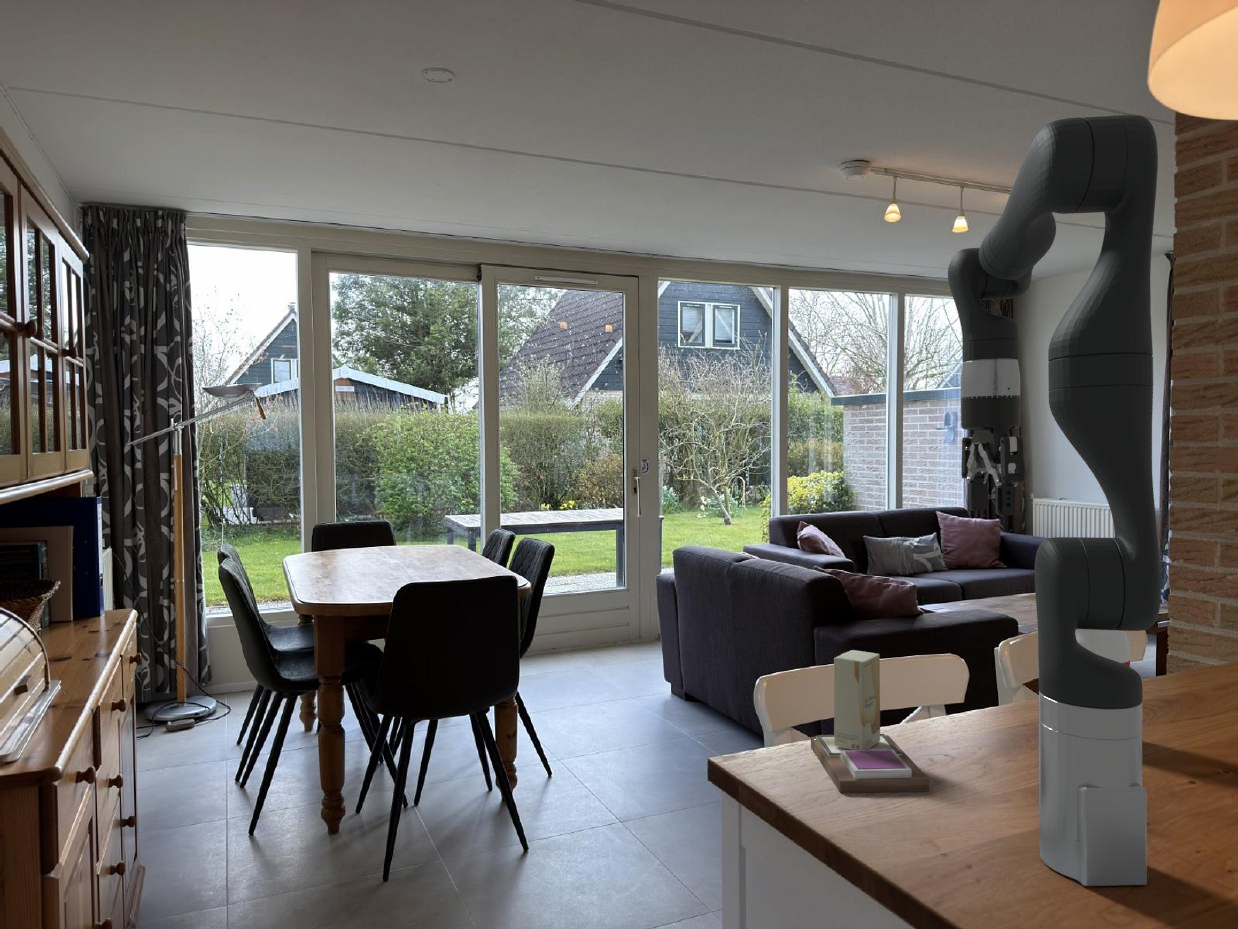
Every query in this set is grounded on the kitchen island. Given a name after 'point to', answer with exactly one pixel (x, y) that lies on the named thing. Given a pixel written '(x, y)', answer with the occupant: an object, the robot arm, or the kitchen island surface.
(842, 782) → the stamping board
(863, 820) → the kitchen island surface
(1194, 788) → the kitchen island surface
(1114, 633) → the fruit juice
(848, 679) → the skincare box
